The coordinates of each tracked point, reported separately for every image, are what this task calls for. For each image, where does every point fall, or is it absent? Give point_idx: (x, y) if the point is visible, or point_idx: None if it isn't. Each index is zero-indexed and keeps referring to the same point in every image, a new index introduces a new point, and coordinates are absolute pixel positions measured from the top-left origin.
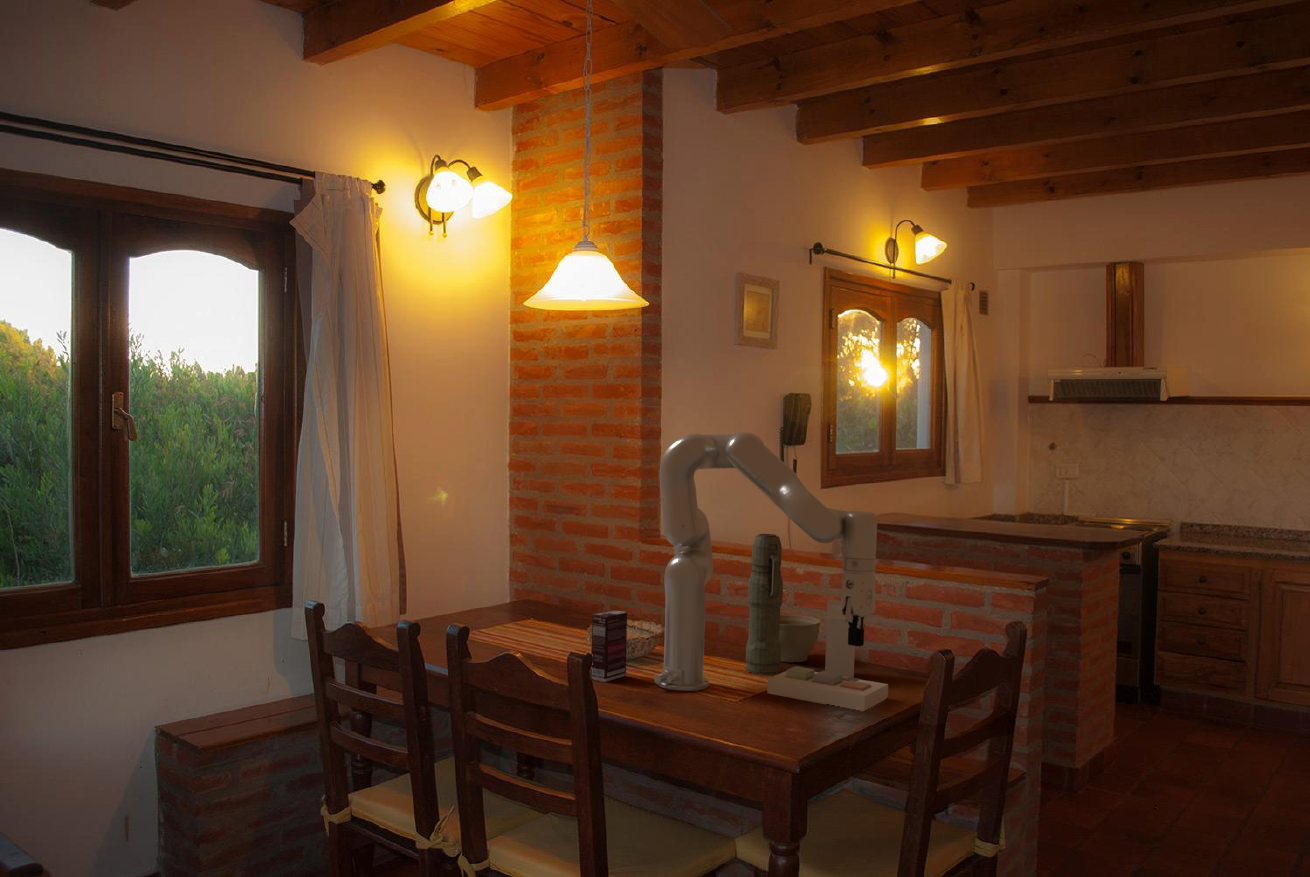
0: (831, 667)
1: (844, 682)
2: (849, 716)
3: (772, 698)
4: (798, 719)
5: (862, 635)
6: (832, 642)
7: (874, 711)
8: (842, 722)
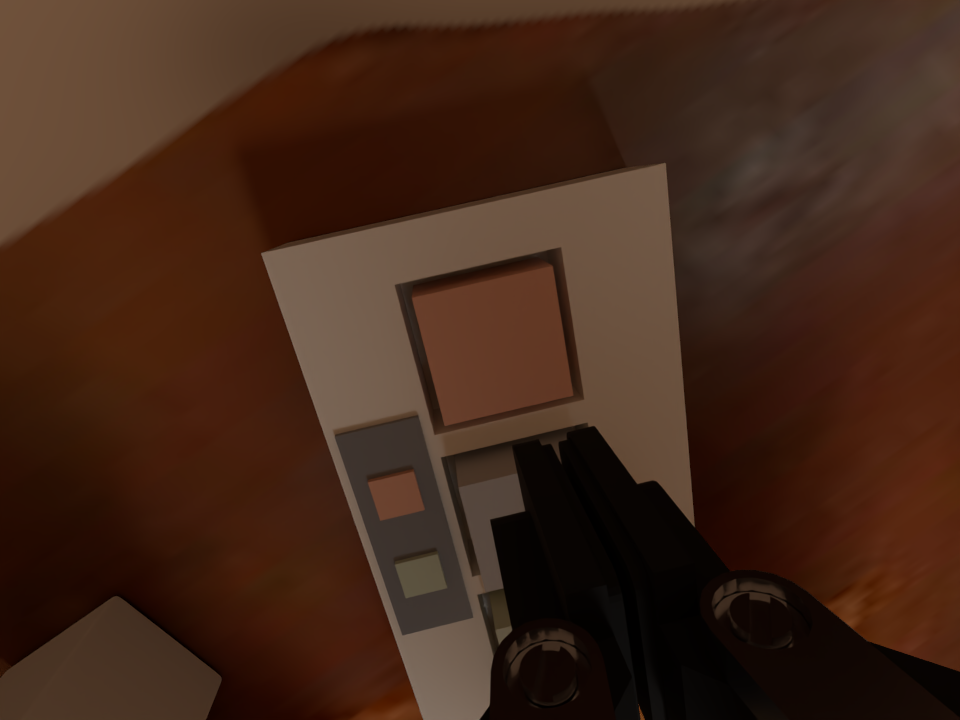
0: (180, 707)
1: (472, 438)
2: (758, 164)
3: (726, 556)
4: (956, 286)
5: (573, 513)
6: None
7: (573, 135)
8: (882, 118)
